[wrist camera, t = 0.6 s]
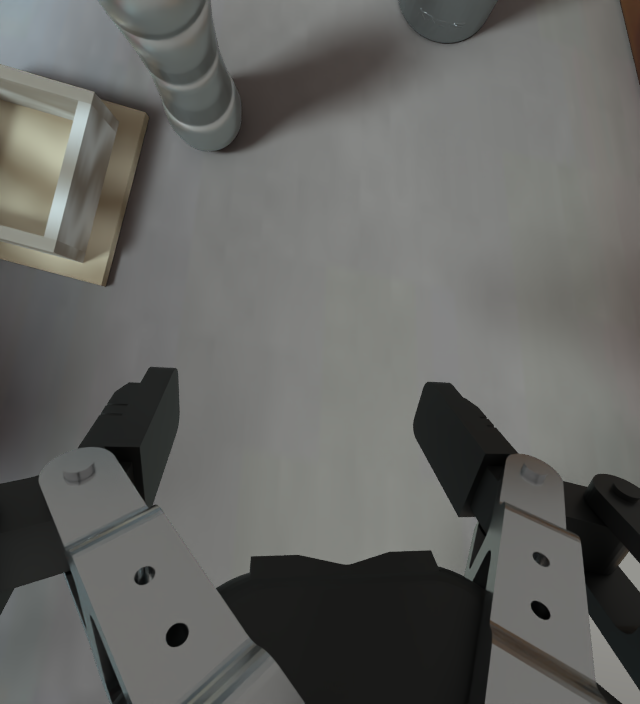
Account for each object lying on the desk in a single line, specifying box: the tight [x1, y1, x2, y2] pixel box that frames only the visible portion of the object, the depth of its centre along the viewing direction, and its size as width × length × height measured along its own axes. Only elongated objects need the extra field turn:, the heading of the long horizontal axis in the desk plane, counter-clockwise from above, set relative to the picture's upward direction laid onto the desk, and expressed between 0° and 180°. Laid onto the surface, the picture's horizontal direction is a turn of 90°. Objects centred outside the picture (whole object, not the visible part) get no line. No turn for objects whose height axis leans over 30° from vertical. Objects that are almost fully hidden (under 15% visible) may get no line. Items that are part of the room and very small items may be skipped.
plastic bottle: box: [98, 0, 242, 151], centre depth 24 cm, size 6×7×20 cm
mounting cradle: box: [0, 64, 149, 287], centre depth 31 cm, size 16×16×5 cm
